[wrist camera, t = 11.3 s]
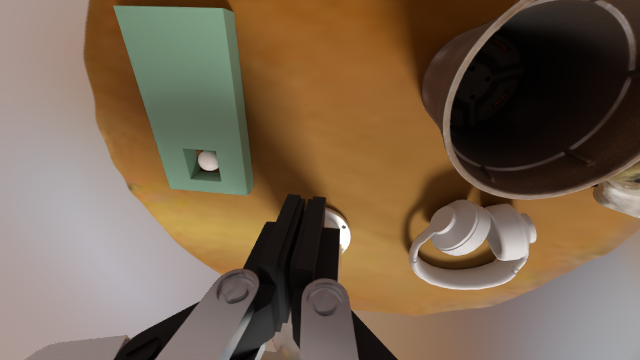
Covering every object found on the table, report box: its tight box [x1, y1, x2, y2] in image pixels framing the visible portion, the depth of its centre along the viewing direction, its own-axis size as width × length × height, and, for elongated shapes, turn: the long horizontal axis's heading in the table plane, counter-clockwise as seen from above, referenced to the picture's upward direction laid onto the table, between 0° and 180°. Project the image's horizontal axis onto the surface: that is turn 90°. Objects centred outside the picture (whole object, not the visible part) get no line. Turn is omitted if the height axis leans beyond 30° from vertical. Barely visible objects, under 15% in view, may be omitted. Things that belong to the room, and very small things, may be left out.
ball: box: [198, 150, 219, 171], centre depth 39 cm, size 4×4×4 cm
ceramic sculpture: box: [593, 160, 640, 219], centre depth 30 cm, size 11×9×15 cm
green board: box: [113, 6, 254, 196], centre depth 36 cm, size 26×14×3 cm, turn 178°
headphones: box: [409, 199, 536, 290], centre depth 40 cm, size 18×8×20 cm
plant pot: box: [422, 0, 640, 199], centre depth 24 cm, size 16×16×16 cm
